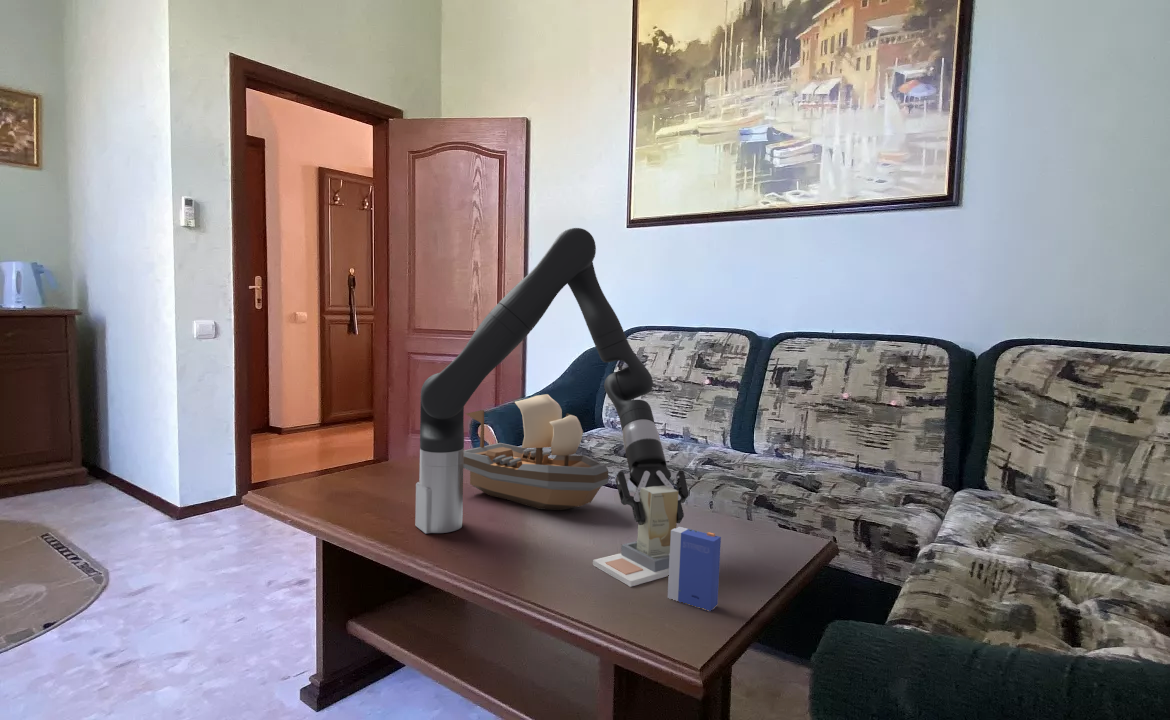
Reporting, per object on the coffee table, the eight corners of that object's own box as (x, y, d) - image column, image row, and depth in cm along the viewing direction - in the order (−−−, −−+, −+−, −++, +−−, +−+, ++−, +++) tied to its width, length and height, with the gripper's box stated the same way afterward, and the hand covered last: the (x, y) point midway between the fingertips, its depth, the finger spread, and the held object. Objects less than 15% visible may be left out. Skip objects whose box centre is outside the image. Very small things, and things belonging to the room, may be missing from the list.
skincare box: (648, 558, 117) (651, 493, 116) (635, 550, 120) (638, 487, 119) (676, 553, 120) (679, 490, 119) (663, 545, 123) (666, 484, 122)
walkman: (717, 606, 103) (721, 534, 102) (710, 612, 101) (714, 539, 100) (674, 592, 107) (677, 523, 107) (666, 598, 105) (670, 528, 104)
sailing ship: (579, 526, 139) (583, 405, 137) (440, 489, 165) (442, 386, 163) (618, 509, 153) (623, 399, 151) (484, 477, 178) (487, 382, 177)
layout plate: (630, 586, 109) (631, 569, 109) (592, 565, 118) (593, 549, 118) (695, 567, 118) (696, 552, 118) (656, 549, 127) (657, 534, 127)
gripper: (613, 437, 124) (629, 514, 113) (681, 436, 127) (702, 511, 117) (605, 457, 130) (619, 533, 119) (670, 456, 133) (690, 529, 122)
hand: (660, 522), depth 118 cm, fingers closed on skincare box, 7 cm apart
